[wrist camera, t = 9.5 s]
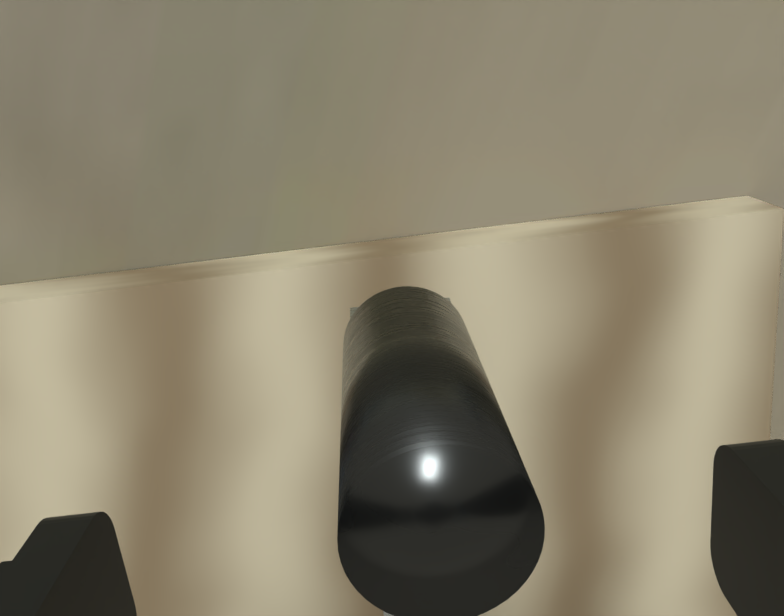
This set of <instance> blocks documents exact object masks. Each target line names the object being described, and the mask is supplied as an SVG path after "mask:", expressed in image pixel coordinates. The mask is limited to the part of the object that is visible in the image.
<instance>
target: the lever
mask: <svg viewBox="0 0 784 616" xmlns="http://www.w3.org/2000/svg"><path fill="white" fill-rule="evenodd" d="M544 538H545V523H544V515H543V511H542V508H541V504H540V502H539V499H538V497H537V495H536V492H535V490H534V488H533V485H532V483H531V480H530V478H529V476H528V473H527V471H526V468H525V466H524V464H523V461H522V459H521V457H520V454H519V452H518V449H517V447H516V445H515V442H514V440H513V437H512V435H511V433H510V430H509V428H508V426H507V423H506V421H505V418H504V416H503V414H502V411H501V409H500V406H499V404H498V402H497V399H496V397H495V395H494V392H493V390H492V387H491V385H490V383H489V380H488V378H487V375H486V373H485V371H484V368H483V366H482V364H481V361H480V359H479V356H478V354H477V352H476V349H475V347H474V344H473V342H472V340H471V337H470V335H469V333H468V330H467V328H466V325H465V323H464V321H463V319H462V317H461V315H460V313H459V312H458V310H457V309H456V308H455V307H454V306H453V305H452V303H451V301H450V298H449V297H448V298H444V297H442V296H441V295H439V294H437V293H435V292H433V291H431V290H428V289H425V288H420V287H413V286H401V287H395V288H390V289H387V290H384V291H381V292H379V293H377V294H375V295H373V296H372V297H370V298H369V299H367V300H366V301H365V302H364V303H362V304H361V306H360V307H352V308H350V321H349V322H348V325H347V327H346V330H345V335H344V341H343V366H342V399H341V431H340V464H339V497H338V529H337V543H338V553H339V557H340V562H341V564H342V567H343V570H344V572H345V574H346V576H347V577H348V579H349V581H350V582H351V584H352V585H353V586H354V588H355V589H356V590H357V591H358V592H359V593H360V594H361V595H362V596H363V597H364V598H365V599H366V600H367V601H369V602H370V603H371V604H373V605H374V606H375V607H377V608H379V609H381V610H382V611H383V614H384V616H478V615H480V614H483V613H486V612H488V611H489V610H491V609H493V608H495V607H497V606H499V605H500V604H502V603H503V602H505V601H506V600H507V599H509V598H510V597H511V596H512V595H513V594H515V593H516V592H517V591H518V590H519V589H520V588H521V587H522V585H523V584H524V583H525V582H526V581H527V579H528V578H529V577H530V575H531V574H532V572H533V570H534V569H535V567H536V565H537V563H538V561H539V558H540V555H541V552H542V549H543V544H544Z"/></svg>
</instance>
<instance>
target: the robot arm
mask: <svg viewBox="0 0 784 616" xmlns="http://www.w3.org/2000/svg"><path fill="white" fill-rule="evenodd" d="M710 550H711V558H712V564H713V568H714V572H715V575H716V578H717V581H718V584H719V586H720V588H721V591H722V593H723V594H724V596H725V598H726V599H727V601H728V602H729V604H730V605H731V607H732V608H733V610H734V611H735V613H736V615H737V616H784V441H783V440H781V439H774V440H764V441H755V442H746V443H737V444H728V445H721V446H719V447H718V449H717V450H716V453H715V456H714V463H713V486H712V511H711V537H710ZM0 616H137V613H136V607H135V602H134V599H133V595H132V591H131V588H130V584H129V580H128V576H127V573H126V569H125V565H124V562H123V558H122V554H121V550H120V547H119V543H118V539H117V536H116V532H115V528H114V525H113V522H112V520H111V518H110V517H109V515H108V514H106V513H105V512H93V513H83V514H74V515H65V516H56V517H47V518H44V519H43V520H41V521H40V522H39V523H38V524H37V526H36V527H35V529H34V530H33V532H32V533H31V534H30V536H29V537H28V539H27V540H26V542H25V543H24V544H23V546H22V547H21V549H20V550H19V552H18V553H17V554H16V556H15V557H14V559H13V560H12V561H3V562H1V563H0Z"/></svg>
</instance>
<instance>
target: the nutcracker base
mask: <svg viewBox="0 0 784 616" xmlns="http://www.w3.org/2000/svg"><path fill="white" fill-rule="evenodd" d="M783 218H784V209H783V208H781V207H778V206H775V205H772V204H769V203H767V202H764V201H761V200H758V199H755V198H752V197H750V196H740V197H732V198H724V199H715V200H707V201H699V202H690V203H682V204H674V205H665V206H657V207H649V208H640V209H632V210H624V211H616V212H607V213H599V214H591V215H582V216H574V217H566V218H557V219H549V220H541V221H532V222H524V223H516V224H507V225H499V226H491V227H483V228H474V229H466V230H458V231H449V232H441V233H433V234H424V235H416V236H408V237H399V238H391V239H383V240H375V241H366V242H358V243H350V244H341V245H333V246H325V247H316V248H308V249H300V250H291V251H283V252H275V253H266V254H258V255H250V256H242V257H233V258H225V259H217V260H208V261H200V262H192V263H183V264H175V265H167V266H158V267H150V268H142V269H134V270H125V271H117V272H109V273H100V274H92V275H84V276H75V277H67V278H59V279H50V280H42V281H34V282H26V283H17V284H9V285H1V286H0V563H1V562H3V561H12V560H13V559H14V557H15V556H16V554H17V553H18V552H19V550H20V549H21V547H22V546H23V544H24V543H25V542H26V540H27V539H28V537H29V536H30V534H31V533H32V532H33V530H34V529H35V527H36V526H37V524H38V523H39V522H40V521H41V520H43V519H44V518H47V517H56V516H65V515H74V514H83V513H93V512H105V513H106V514H108V515H109V517H110V518H111V520H112V522H113V525H114V528H115V532H116V536H117V539H118V543H119V547H120V550H121V554H122V558H123V562H124V565H125V569H126V573H127V576H128V580H129V584H130V588H131V591H132V595H133V599H134V602H135V607H136V613H137V616H384V614H383V611H382V610H381V609H379V608H377V607H375V606H374V605H373V604H371V603H370V602H369V601H367V600H366V599H365V598H364V597H363V596H362V595H361V594H360V593H359V592H358V591H357V590H356V589H355V588H354V586H353V585H352V584H351V582H350V581H349V579H348V577H347V576H346V574H345V572H344V570H343V567H342V564H341V562H340V557H339V553H338V543H337V529H338V497H339V464H340V431H341V399H342V366H343V341H344V335H345V330H346V327H347V325H348V322H349V321H350V308H352V307H360V306H361V304H362V303H364V302H365V301H366V300H367V299H369V298H370V297H372V296H373V295H375V294H377V293H379V292H381V291H384V290H387V289H390V288H395V287H401V286H413V287H420V288H425V289H428V290H431V291H433V292H435V293H437V294H439V295H441V296H442V297H444V298H448V297H449V298H450V301H451V303H452V305H453V306H454V307H455V308H456V309H457V310H458V312H459V313H460V315H461V317H462V319H463V321H464V323H465V325H466V328H467V330H468V333H469V335H470V337H471V340H472V342H473V344H474V347H475V349H476V352H477V354H478V356H479V359H480V361H481V364H482V366H483V368H484V371H485V373H486V375H487V378H488V380H489V383H490V385H491V387H492V390H493V392H494V395H495V397H496V399H497V402H498V404H499V406H500V409H501V411H502V414H503V416H504V418H505V421H506V423H507V426H508V428H509V430H510V433H511V435H512V437H513V440H514V442H515V445H516V447H517V449H518V452H519V454H520V457H521V459H522V461H523V464H524V466H525V468H526V471H527V473H528V476H529V478H530V480H531V483H532V485H533V488H534V490H535V492H536V495H537V497H538V499H539V502H540V504H541V508H542V511H543V515H544V523H545V538H544V544H543V549H542V552H541V555H540V558H539V561H538V563H537V565H536V567H535V569H534V570H533V572H532V574H531V575H530V577H529V578H528V579H527V581H526V582H525V583H524V584H523V585H522V587H521V588H520V589H519V590H518V591H517V592H516V593H515V594H513V595H512V596H511V597H510V598H509V599H507V600H506V601H505V602H503V603H502V604H500V605H499V606H497V607H495V608H493V609H491V610H489V611H488V612H486V613H483V614H480V615H478V616H737V615H736V613H735V611H734V610H733V608H732V607H731V605H730V604H729V602H728V601H727V599H726V598H725V596H724V594H723V593H722V591H721V588H720V586H719V584H718V581H717V578H716V575H715V572H714V568H713V564H712V558H711V550H710V537H711V511H712V486H713V463H714V456H715V453H716V450H717V449H718V447H719V446H721V445H728V444H737V443H746V442H755V441H764V440H770V429H771V413H772V396H773V380H774V364H775V348H776V332H777V315H778V299H779V283H780V267H781V250H782V234H783Z"/></svg>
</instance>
